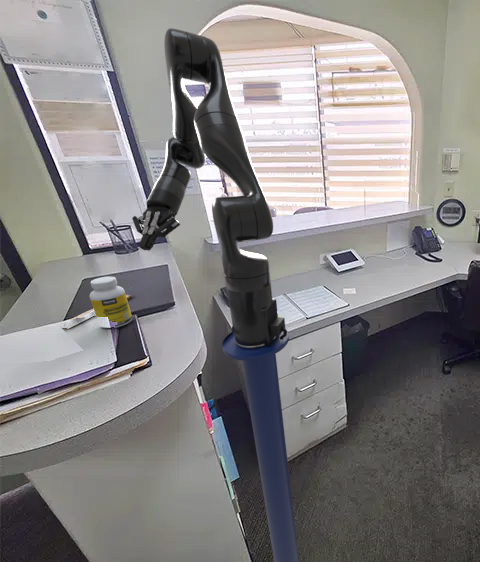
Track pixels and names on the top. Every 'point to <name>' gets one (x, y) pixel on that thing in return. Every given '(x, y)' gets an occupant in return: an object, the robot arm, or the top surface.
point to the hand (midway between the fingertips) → (144, 248)
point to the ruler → (93, 309)
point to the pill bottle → (110, 301)
